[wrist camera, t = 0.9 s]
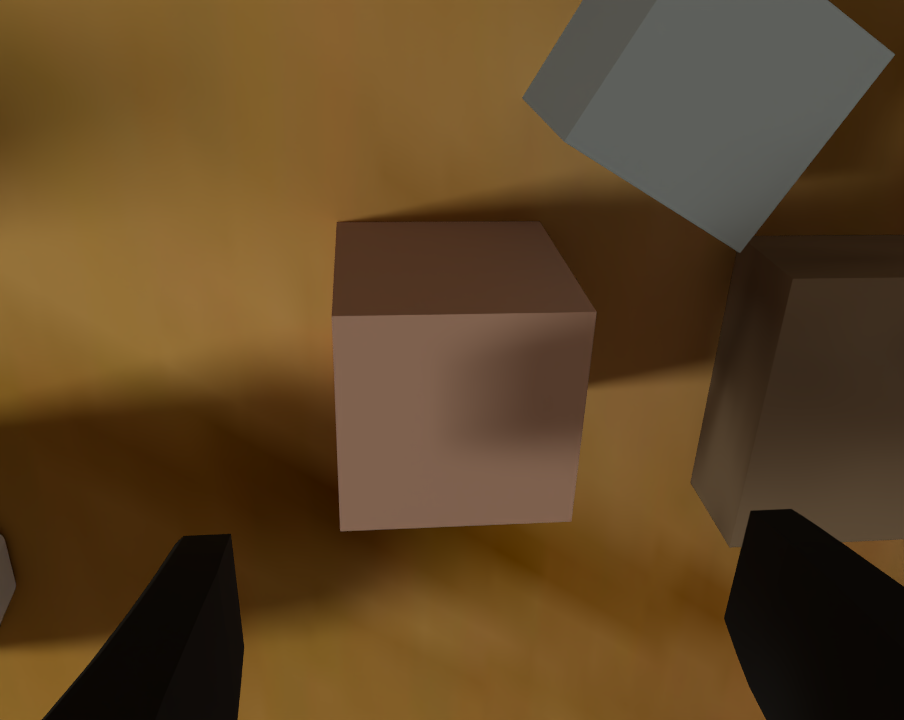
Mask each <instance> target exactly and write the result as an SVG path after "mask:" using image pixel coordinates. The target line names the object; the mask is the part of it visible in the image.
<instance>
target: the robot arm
mask: <svg viewBox="0 0 904 720" xmlns="http://www.w3.org/2000/svg"><path fill="white" fill-rule="evenodd" d="M724 619H725V622H726V625H727V628H728V631H729V634H730V637H731V639H732V642H733V645H734V648H735V651H736V654H737V656H738V659H739V661H740V664H741V667H742V669H743V672H744V674H745V677H746V679H747V682H748V685H749V687H750V689H751V691H752V693H753V695H754V697H755V699H756V701H757V703H758V705H759V707H760V709H761V710H762V712H763V714H764V716H765V718H766V720H904V586H902V585H901V584H899V583H898V582H896V581H895V580H894V579H892V578H891V577H889V576H888V575H886V574H885V573H884V572H882V571H881V570H879V569H878V568H877V567H875V566H874V565H872V564H871V563H870V562H868V561H867V560H865V559H864V558H863V557H861V556H860V555H858V554H857V553H856V552H854V551H853V550H851V549H850V548H849V547H847V546H846V545H844V544H843V543H841V542H840V541H839V540H837V539H836V538H834V537H833V536H832V535H830V534H829V533H827V532H826V531H824V530H823V529H822V528H820V527H819V526H817V525H816V524H814V523H813V522H811V521H810V520H808V519H807V518H805V517H804V516H802V515H801V514H799V513H797V512H796V511H794V510H793V509H776V510H753V511H750V515H749V519H748V523H747V527H746V531H745V535H744V539H743V543H742V547H741V551H740V555H739V560H738V564H737V568H736V572H735V576H734V580H733V584H732V588H731V592H730V596H729V600H728V604H727V608H726V613H725V617H724ZM243 654H244V642H243V633H242V625H241V616H240V608H239V599H238V591H237V582H236V574H235V565H234V557H233V548H232V540H231V534H219V535H197V536H183V537H182V538H181V539H180V540H179V541H178V542H177V543H176V544H175V545H174V547H173V549H172V550H171V552H170V553H169V555H168V556H167V558H166V559H165V561H164V562H163V564H162V565H161V567H160V568H159V570H158V571H157V573H156V574H155V576H154V577H153V579H152V580H151V582H150V583H149V584H148V586H147V587H146V589H145V590H144V592H143V593H142V594H141V596H140V597H139V598H138V600H137V601H136V603H135V604H134V605H133V607H132V608H131V610H130V611H129V612H128V614H127V615H126V616H125V618H124V619H123V620H122V622H121V623H120V624H119V626H118V627H117V628H116V630H115V631H114V632H113V633H112V635H111V636H110V637H109V639H108V640H107V641H106V643H105V644H104V645H103V647H102V648H101V649H100V650H99V652H98V653H97V654H96V656H95V657H94V658H93V659H92V661H91V662H90V663H89V664H88V666H87V667H86V668H85V669H84V671H83V672H82V673H81V674H80V675H79V677H78V678H77V679H76V680H75V681H74V682H73V684H72V685H71V686H70V687H69V688H68V690H67V691H66V692H65V693H64V694H63V695H62V697H61V698H60V699H59V700H58V701H57V702H56V704H55V705H54V706H53V707H52V708H51V710H50V711H49V712H48V713H47V714H46V715H45V717H44V718H43V719H42V720H237V719H238V708H239V698H240V688H241V677H242V665H243Z"/></svg>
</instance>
